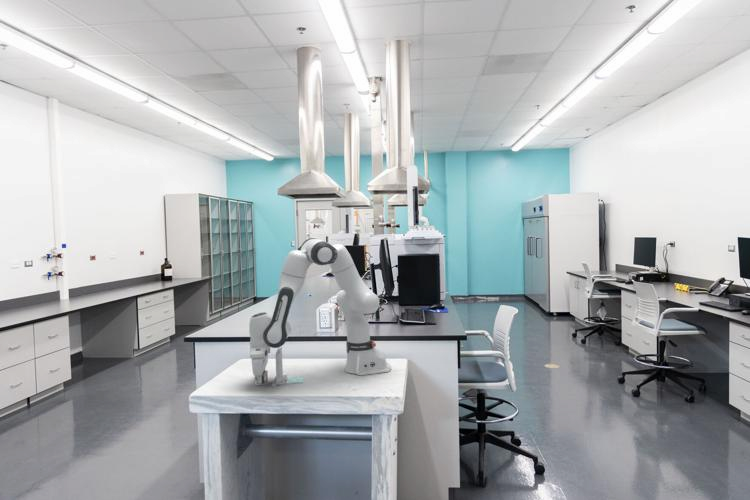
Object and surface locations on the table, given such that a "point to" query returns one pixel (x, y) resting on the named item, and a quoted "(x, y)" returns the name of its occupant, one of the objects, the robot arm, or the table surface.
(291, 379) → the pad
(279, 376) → the screen
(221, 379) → the table surface
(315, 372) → the table surface
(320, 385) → the table surface
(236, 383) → the table surface
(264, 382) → the letter cube
